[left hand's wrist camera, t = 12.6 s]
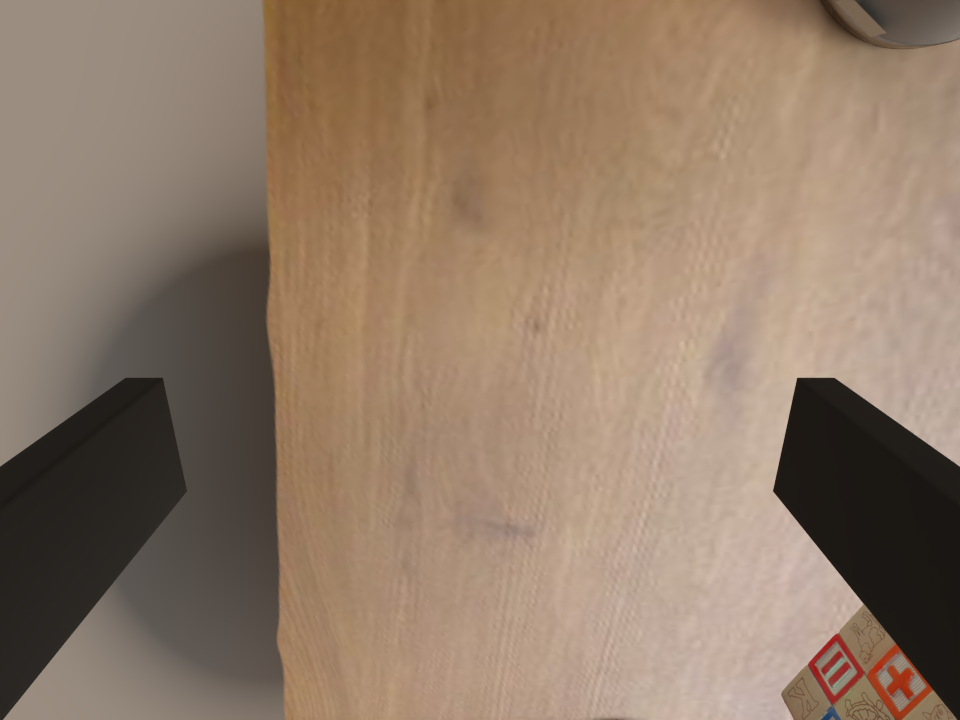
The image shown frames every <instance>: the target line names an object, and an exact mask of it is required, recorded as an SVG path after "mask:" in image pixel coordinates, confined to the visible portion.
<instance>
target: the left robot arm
mask: <svg viewBox="0 0 960 720" xmlns="http://www.w3.org/2000/svg"><path fill="white" fill-rule="evenodd" d="M822 1H823V3H824V5H825V6H826V8H827V9H828V11H829V12H830V14H831V15H832V16H833V17H834V18H835V20H836V21H837V22H838V23H839V24H840V25H841V26H842V27H843V28H845V29H846V30H847V31H849V32H850V33H851V34H853V35H854V36H856V37H858V38H860V39H861V40H863V41H866V42H868V43H871V44H873V45H877V46H881V47H885V48H893V49H913V48H921V47H927V46H933V45H938V44H943V43H948V42H952V41H955V40H958V39H960V0H822ZM186 492H187V490H186V485H185V480H184V475H183V471H182V466H181V461H180V457H179V452H178V447H177V443H176V438H175V433H174V429H173V424H172V419H171V414H170V410H169V405H168V400H167V396H166V391H165V386H164V382H163V378H125V379H123V380H122V381H121V382H119V383H118V384H116V385H115V386H114V387H112V388H111V389H109V390H108V391H106V392H105V393H104V394H102V395H101V396H99V397H98V398H97V399H95V400H94V401H92V402H91V403H90V404H88V405H87V406H85V407H84V408H83V409H81V410H80V411H78V412H77V413H75V414H74V415H73V416H71V417H70V418H68V419H67V420H66V421H64V422H63V423H61V424H60V425H59V426H57V427H56V428H54V429H53V430H51V431H50V432H49V433H47V434H46V435H44V436H43V437H42V438H40V439H39V440H37V441H36V442H34V443H33V444H32V445H30V446H29V447H27V448H26V449H25V450H23V451H22V452H20V453H19V454H18V455H16V456H15V457H13V458H12V459H10V460H9V461H8V462H6V463H5V464H3V465H2V466H1V467H0V720H3V719H4V718H5V716H6V715H7V714H8V713H9V711H10V710H11V709H12V708H13V706H14V705H15V704H16V703H17V702H18V700H19V699H20V698H21V696H22V695H23V694H24V693H25V692H26V690H27V689H28V688H29V687H30V685H31V684H32V683H33V682H34V680H35V679H36V678H37V677H38V675H39V674H40V673H41V672H42V670H43V669H44V668H45V667H46V666H47V664H48V663H49V662H50V661H51V659H52V658H53V657H54V656H55V654H56V653H57V652H58V651H59V649H60V648H61V647H62V646H63V644H64V643H65V642H66V641H67V639H68V638H69V637H70V636H71V634H72V633H73V632H74V631H75V629H76V628H77V627H78V626H79V624H80V623H81V622H82V621H83V620H84V618H85V617H86V616H87V615H88V613H89V612H90V611H91V610H92V608H93V607H94V606H95V605H96V603H97V602H98V601H99V600H100V598H101V597H102V596H103V595H104V593H105V592H106V591H107V590H108V588H109V587H110V586H111V585H112V584H113V582H114V581H115V580H116V579H117V577H118V576H119V575H120V574H121V572H122V571H123V570H124V569H125V567H126V566H127V565H128V564H129V562H130V561H131V560H132V559H133V557H134V556H135V555H136V554H137V552H138V551H139V550H140V549H141V547H142V546H143V545H144V544H145V543H146V541H147V540H148V539H149V537H150V536H151V535H152V534H153V533H154V531H155V530H156V529H157V528H158V526H159V525H160V524H161V523H162V521H163V520H164V519H165V518H166V516H167V515H168V514H169V513H170V511H171V510H172V509H173V508H174V506H175V505H176V504H177V503H178V502H179V500H180V499H181V498H182V497H183V495H184V494H185V493H186ZM773 492H774V493H775V494H776V495H777V497H778V498H779V499H780V500H781V502H782V503H783V504H784V505H785V506H786V508H787V509H788V510H789V511H790V513H791V514H792V515H793V516H794V518H795V519H796V520H797V521H798V523H799V524H800V525H801V526H802V528H803V529H804V530H805V531H806V533H807V534H808V535H809V536H810V538H811V539H812V540H813V541H814V543H815V544H816V545H817V546H818V547H819V549H820V550H821V551H822V552H823V554H824V555H825V556H826V557H827V559H828V560H829V561H830V562H831V564H832V565H833V566H834V567H835V569H836V570H837V571H838V572H839V574H840V575H841V576H842V577H843V579H844V580H845V581H846V582H847V584H848V585H849V586H850V587H851V588H852V590H853V591H854V592H855V593H856V595H857V596H858V597H859V598H860V600H861V601H862V602H863V603H864V605H865V606H866V607H867V608H868V610H869V611H870V612H871V613H872V615H873V616H874V617H875V618H876V620H877V621H878V622H879V623H880V625H881V626H882V627H883V628H884V629H885V631H886V632H887V633H888V634H889V636H890V637H891V638H892V639H893V641H894V642H895V643H896V644H897V646H898V647H899V648H900V649H901V651H902V652H903V653H904V654H905V656H906V657H907V658H908V659H909V661H910V662H911V663H912V664H913V666H914V667H915V668H916V669H917V670H918V672H919V673H920V674H921V675H922V677H923V678H924V679H925V680H926V682H927V683H928V684H929V685H930V687H931V688H932V689H933V690H934V692H935V693H936V694H937V695H938V697H939V698H940V699H941V700H942V702H943V703H944V704H945V705H946V707H947V708H948V709H949V710H950V711H951V713H952V714H953V715H954V716H955V718H956V719H957V720H960V467H959V466H958V465H957V464H955V463H954V462H952V461H951V460H950V459H948V458H947V457H945V456H944V455H942V454H941V453H940V452H938V451H937V450H935V449H934V448H933V447H931V446H930V445H928V444H927V443H926V442H924V441H923V440H921V439H920V438H918V437H917V436H916V435H914V434H913V433H911V432H910V431H909V430H907V429H906V428H904V427H903V426H902V425H900V424H899V423H897V422H896V421H894V420H893V419H892V418H890V417H889V416H887V415H886V414H885V413H883V412H882V411H880V410H879V409H878V408H876V407H875V406H873V405H872V404H870V403H869V402H868V401H866V400H865V399H863V398H862V397H861V396H859V395H858V394H856V393H855V392H854V391H852V390H851V389H849V388H848V387H846V386H845V385H844V384H842V383H841V382H839V381H838V380H837V379H835V378H797V382H796V386H795V391H794V396H793V400H792V405H791V410H790V414H789V419H788V424H787V429H786V433H785V438H784V443H783V447H782V452H781V457H780V461H779V466H778V471H777V475H776V480H775V485H774V490H773Z"/></svg>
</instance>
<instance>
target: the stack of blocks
mask: <svg viewBox="0 0 960 720" xmlns="http://www.w3.org/2000/svg"><path fill="white" fill-rule="evenodd" d="M781 695H782V698H783V700H784V702H785V704H786V705H787V707H788V709H789V711H790V713H791V715H792V717H793V719H794V720H957V719H956V718H955V716H954V715H953V714H952V713H951V711H950V710H949V709H948V708H947V707H946V705H945V704H944V703H943V702H942V700H941V699H940V698H939V697H938V695H937V694H936V693H935V692H934V690H933V689H932V688H931V687H930V685H929V684H928V683H927V682H926V680H925V679H924V678H923V677H922V675H921V674H920V673H919V672H918V670H917V669H916V668H915V667H914V666H913V664H912V663H911V662H910V661H909V659H908V658H907V657H906V656H905V654H904V653H903V652H902V651H901V649H900V648H899V647H898V646H897V644H896V643H895V642H894V641H893V639H892V638H891V637H890V636H889V634H888V633H887V632H886V631H885V629H884V628H883V627H882V626H881V625H880V623H879V622H878V621H877V620H876V618H875V617H874V616H873V615H872V613H871V612H870V611H869V610H868V608H867V607H866V606H865V605H863V606H862V607H861V608H860V609H859V610H858V611H857V612H856V614H855V615H854V616H853V617H852V618H851V619H850V620H849V621H848V622H847V623H846V624H845V625H844V627H843V628H842V629H841V630H840V632H839V633H838V634H836V635H834V636H833V637H832V638H831V640H830V641H829V642H828V643H827V644H826V645H825V646H824V647H823V648H822V649H821V650H820V651H819V652H818V653H817V655H816V656H815V657H814V658H813V659H812V660H811V661H810V662H809V664H808V665H807V666H805V667H804V668H803V669H802V670H801V671H800V672H799V673H798V675H797V676H796V677H795V678H794V679H793V680H792V681H791V682H790V683H789V685H788V686H787V687H786V688H785V689H784V690H783V691H782V694H781Z"/></svg>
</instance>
